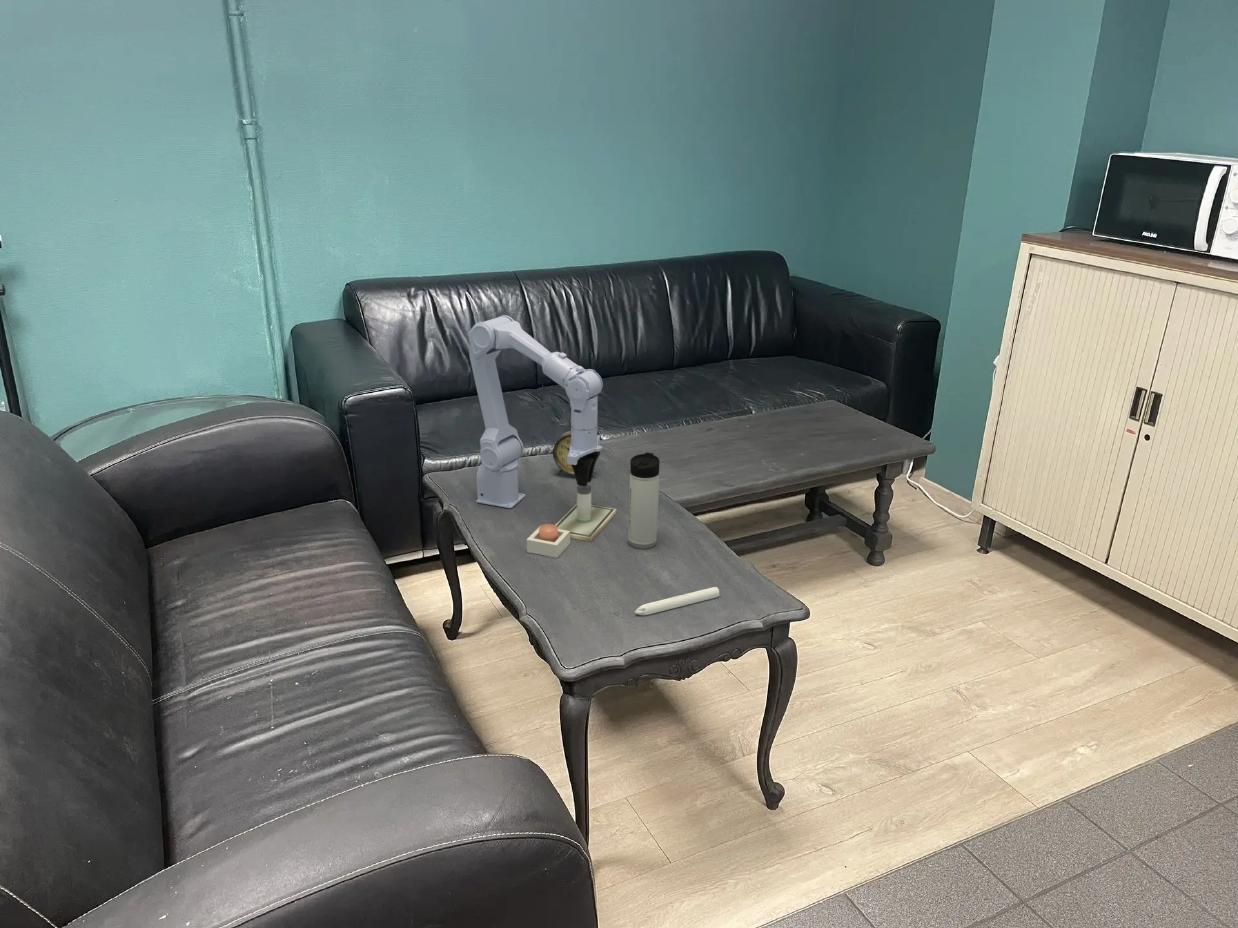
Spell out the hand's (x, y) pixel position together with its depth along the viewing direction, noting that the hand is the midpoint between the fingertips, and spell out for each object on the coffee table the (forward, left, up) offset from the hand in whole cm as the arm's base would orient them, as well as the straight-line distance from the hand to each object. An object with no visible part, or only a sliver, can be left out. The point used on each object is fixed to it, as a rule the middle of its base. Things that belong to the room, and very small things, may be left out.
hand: (584, 483), depth 192 cm
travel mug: (+15, -4, -10) cm, 19 cm away
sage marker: (0, 0, -9) cm, 9 cm away
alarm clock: (-13, +25, -10) cm, 30 cm away
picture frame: (0, 0, -10) cm, 10 cm away
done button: (-2, -14, -8) cm, 16 cm away
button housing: (-3, -14, -10) cm, 17 cm away
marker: (+30, -26, -10) cm, 41 cm away
